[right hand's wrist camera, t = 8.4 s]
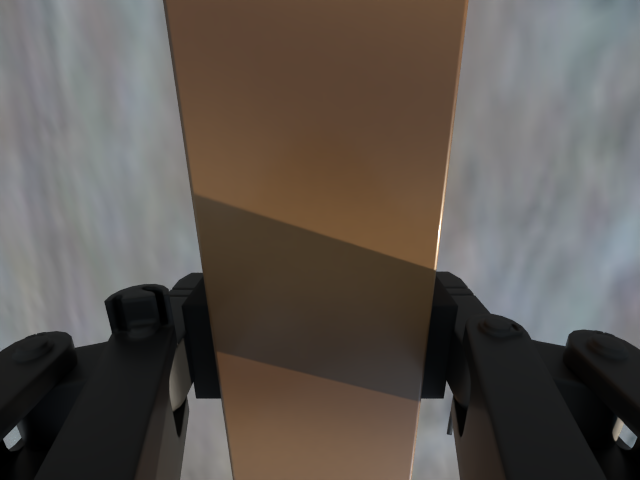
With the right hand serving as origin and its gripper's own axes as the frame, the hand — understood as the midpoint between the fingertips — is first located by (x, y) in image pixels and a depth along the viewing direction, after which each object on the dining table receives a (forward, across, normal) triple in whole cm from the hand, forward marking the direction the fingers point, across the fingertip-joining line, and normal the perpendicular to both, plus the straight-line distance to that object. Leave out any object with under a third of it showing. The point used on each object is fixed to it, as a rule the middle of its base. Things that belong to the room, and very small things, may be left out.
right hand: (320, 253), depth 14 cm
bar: (0, 0, -26) cm, 26 cm away
